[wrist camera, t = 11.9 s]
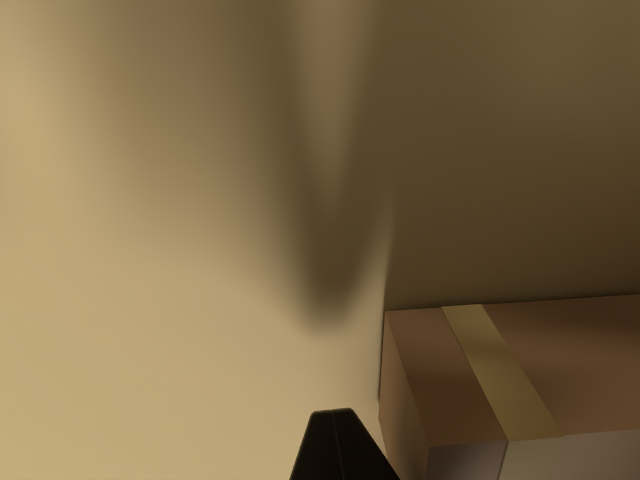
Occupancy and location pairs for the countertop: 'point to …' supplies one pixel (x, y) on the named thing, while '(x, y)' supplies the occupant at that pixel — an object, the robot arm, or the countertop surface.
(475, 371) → the tan long bar
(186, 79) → the countertop surface
